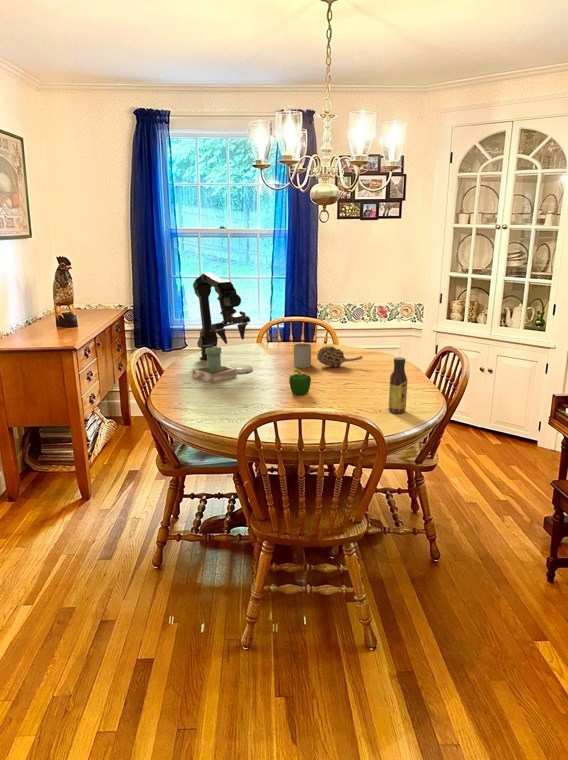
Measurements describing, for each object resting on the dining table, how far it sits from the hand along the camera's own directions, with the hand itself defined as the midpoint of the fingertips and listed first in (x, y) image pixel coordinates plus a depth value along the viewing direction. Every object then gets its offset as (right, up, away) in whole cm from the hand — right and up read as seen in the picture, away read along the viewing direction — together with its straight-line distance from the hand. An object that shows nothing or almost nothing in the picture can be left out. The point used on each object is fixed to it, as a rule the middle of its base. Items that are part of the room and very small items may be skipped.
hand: (234, 341), depth 260 cm
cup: (+32, -11, +10) cm, 35 cm away
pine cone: (+49, -12, +7) cm, 51 cm away
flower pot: (-8, -16, -7) cm, 20 cm away
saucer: (+2, -13, +3) cm, 14 cm away
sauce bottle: (+64, -29, -54) cm, 89 cm away
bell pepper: (+29, -24, -33) cm, 50 cm away
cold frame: (-8, -16, -7) cm, 20 cm away
